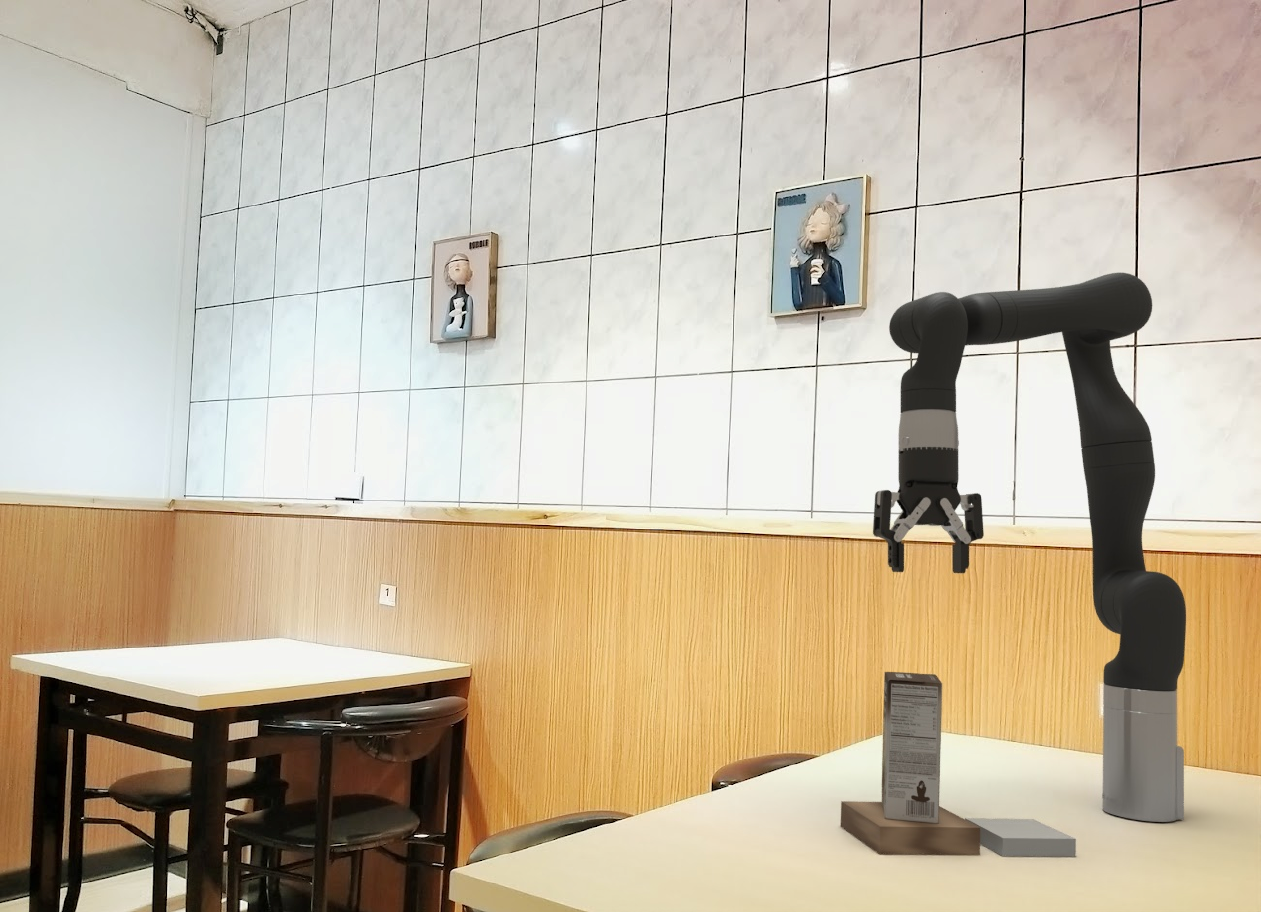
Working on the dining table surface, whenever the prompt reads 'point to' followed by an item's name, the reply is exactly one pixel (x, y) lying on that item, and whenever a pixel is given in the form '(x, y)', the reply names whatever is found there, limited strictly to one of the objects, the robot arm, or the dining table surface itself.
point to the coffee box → (911, 746)
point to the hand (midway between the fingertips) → (928, 572)
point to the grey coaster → (1023, 838)
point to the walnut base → (909, 831)
